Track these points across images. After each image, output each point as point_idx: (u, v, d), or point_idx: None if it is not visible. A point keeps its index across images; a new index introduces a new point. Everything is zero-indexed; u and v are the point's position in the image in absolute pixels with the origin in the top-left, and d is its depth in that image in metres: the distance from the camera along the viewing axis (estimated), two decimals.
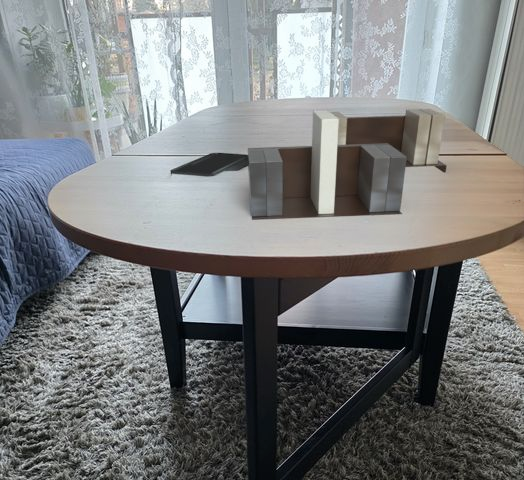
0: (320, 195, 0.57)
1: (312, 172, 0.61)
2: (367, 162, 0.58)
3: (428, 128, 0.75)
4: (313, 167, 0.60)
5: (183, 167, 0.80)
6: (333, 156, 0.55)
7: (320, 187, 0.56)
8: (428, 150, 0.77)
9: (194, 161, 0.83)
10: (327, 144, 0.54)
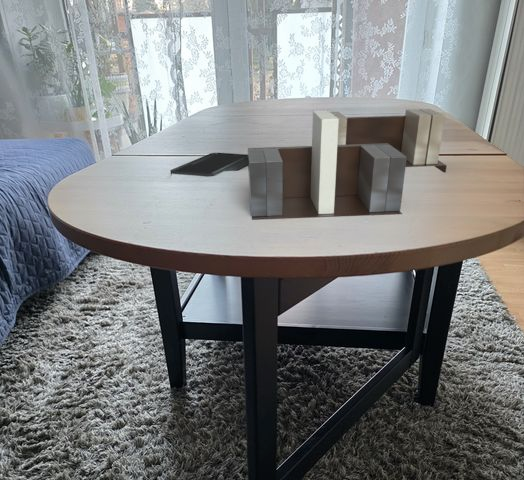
0: (320, 195, 0.57)
1: (312, 172, 0.61)
2: (367, 162, 0.58)
3: (428, 128, 0.75)
4: (313, 167, 0.60)
5: (183, 167, 0.80)
6: (333, 156, 0.55)
7: (320, 187, 0.56)
8: (428, 150, 0.77)
9: (194, 161, 0.83)
10: (327, 144, 0.54)
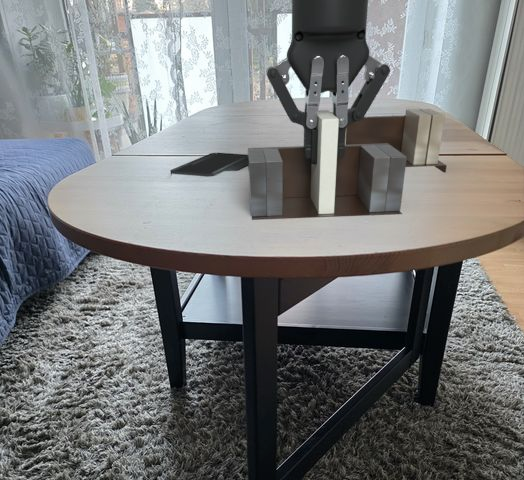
0: (320, 195, 0.57)
1: (312, 172, 0.61)
2: (367, 162, 0.58)
3: (428, 128, 0.75)
4: (313, 167, 0.60)
5: (183, 167, 0.80)
6: (333, 156, 0.55)
7: (320, 187, 0.56)
8: (428, 150, 0.77)
9: (194, 161, 0.83)
10: (327, 144, 0.54)
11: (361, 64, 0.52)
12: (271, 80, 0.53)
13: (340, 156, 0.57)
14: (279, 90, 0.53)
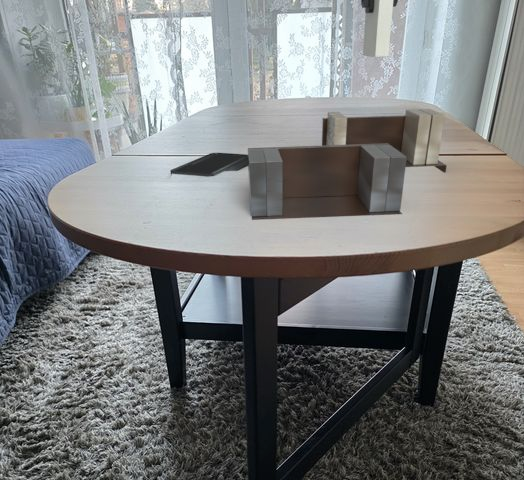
0: (377, 38, 0.65)
1: (366, 27, 0.69)
2: (367, 162, 0.58)
3: (428, 128, 0.75)
4: (368, 21, 0.68)
5: (183, 167, 0.80)
6: None
7: (378, 30, 0.65)
8: (428, 150, 0.77)
9: (194, 161, 0.83)
10: None
11: None
12: None
13: (394, 5, 0.66)
14: None
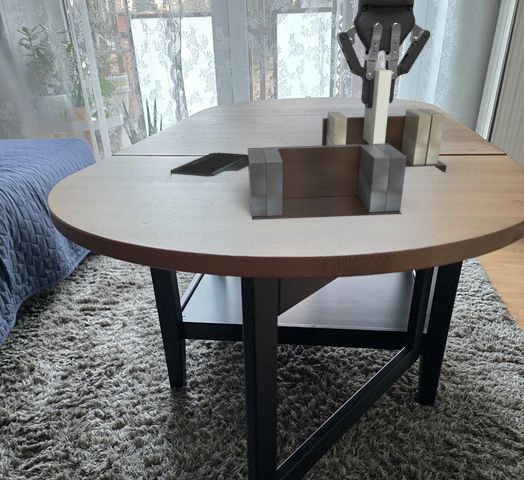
0: (375, 131, 0.75)
1: (365, 117, 0.79)
2: (367, 162, 0.58)
3: (428, 128, 0.75)
4: (367, 112, 0.78)
5: (183, 167, 0.80)
6: (386, 100, 0.73)
7: (375, 124, 0.75)
8: (428, 150, 0.77)
9: (194, 161, 0.83)
10: (382, 90, 0.72)
11: (409, 30, 0.71)
12: (342, 41, 0.71)
13: (390, 102, 0.76)
14: (347, 49, 0.71)
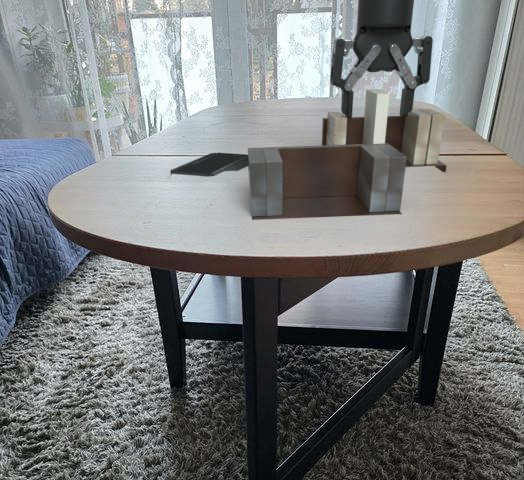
0: None
1: (364, 136, 0.81)
2: (367, 162, 0.58)
3: (428, 128, 0.75)
4: (365, 132, 0.80)
5: (183, 167, 0.80)
6: (384, 122, 0.74)
7: None
8: (428, 150, 0.77)
9: (194, 161, 0.83)
10: (380, 112, 0.74)
11: (407, 51, 0.72)
12: (337, 46, 0.71)
13: (409, 111, 0.77)
14: (337, 56, 0.72)
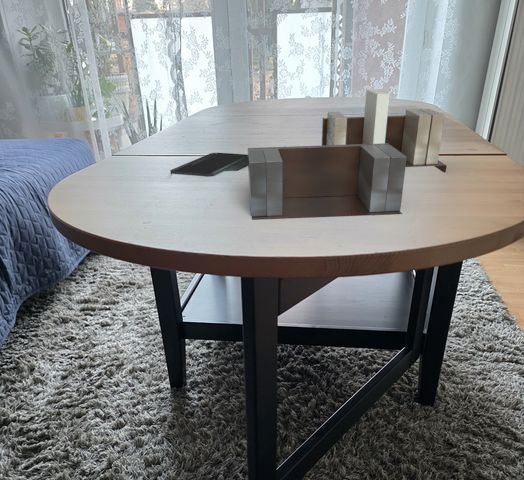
0: None
1: (364, 136, 0.81)
2: (367, 162, 0.58)
3: (428, 128, 0.75)
4: (365, 132, 0.80)
5: (183, 167, 0.80)
6: (384, 122, 0.74)
7: None
8: (428, 150, 0.77)
9: (194, 161, 0.83)
10: (380, 112, 0.74)
11: None
12: None
13: None
14: None
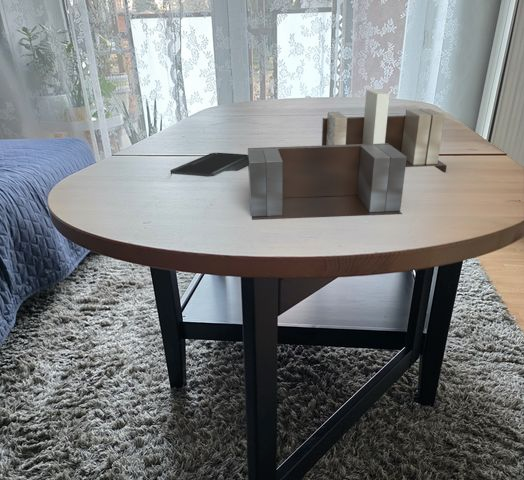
0: None
1: (364, 136, 0.81)
2: (367, 162, 0.58)
3: (428, 128, 0.75)
4: (365, 132, 0.80)
5: (183, 167, 0.80)
6: (384, 122, 0.74)
7: None
8: (428, 150, 0.77)
9: (194, 161, 0.83)
10: (380, 112, 0.74)
11: None
12: None
13: None
14: None
